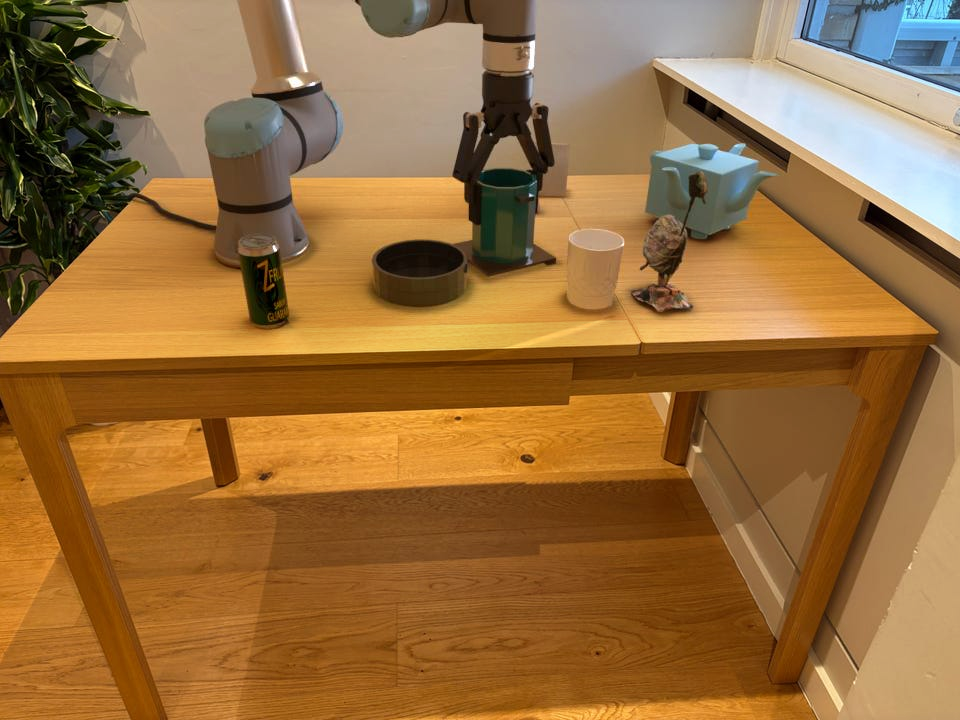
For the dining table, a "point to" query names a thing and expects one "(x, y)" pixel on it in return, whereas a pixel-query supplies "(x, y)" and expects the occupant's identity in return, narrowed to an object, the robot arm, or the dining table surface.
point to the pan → (420, 272)
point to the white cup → (593, 267)
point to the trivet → (494, 268)
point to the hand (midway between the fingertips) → (503, 216)
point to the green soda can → (263, 280)
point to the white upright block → (556, 172)
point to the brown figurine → (668, 253)
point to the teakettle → (725, 178)
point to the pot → (505, 216)
